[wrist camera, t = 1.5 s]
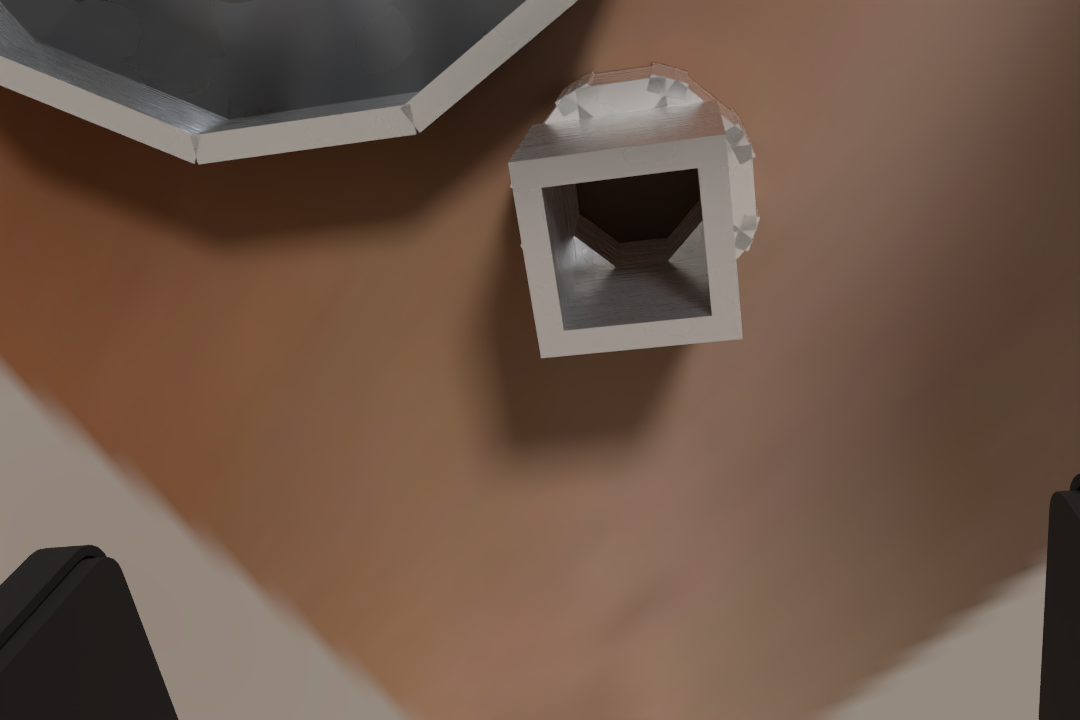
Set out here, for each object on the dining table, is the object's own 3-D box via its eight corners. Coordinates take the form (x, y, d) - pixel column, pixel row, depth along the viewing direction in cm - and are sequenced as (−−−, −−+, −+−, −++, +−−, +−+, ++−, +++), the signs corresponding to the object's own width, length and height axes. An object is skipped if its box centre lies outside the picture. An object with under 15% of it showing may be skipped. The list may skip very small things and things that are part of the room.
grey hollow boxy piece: (743, 48, 25) (764, 87, 19) (759, 276, 27) (782, 369, 22) (507, 82, 26) (463, 129, 20) (542, 299, 28) (512, 393, 23)
